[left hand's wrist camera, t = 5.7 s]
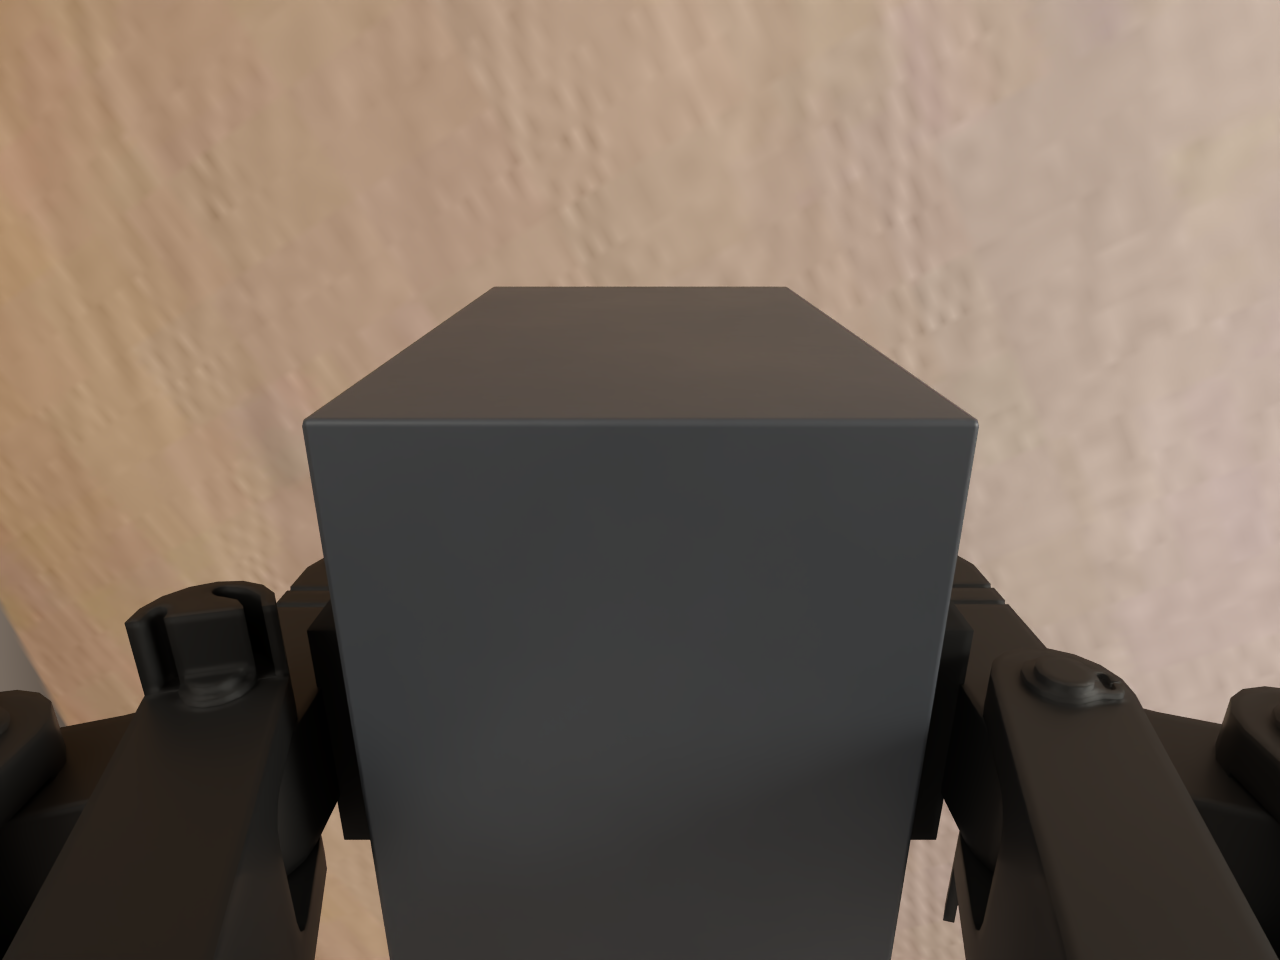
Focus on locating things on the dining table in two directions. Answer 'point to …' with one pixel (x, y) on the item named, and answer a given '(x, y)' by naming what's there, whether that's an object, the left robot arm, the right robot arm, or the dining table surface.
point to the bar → (640, 623)
